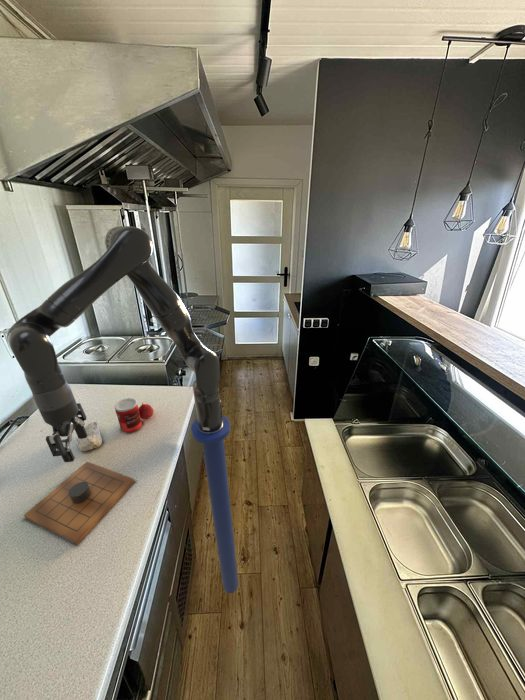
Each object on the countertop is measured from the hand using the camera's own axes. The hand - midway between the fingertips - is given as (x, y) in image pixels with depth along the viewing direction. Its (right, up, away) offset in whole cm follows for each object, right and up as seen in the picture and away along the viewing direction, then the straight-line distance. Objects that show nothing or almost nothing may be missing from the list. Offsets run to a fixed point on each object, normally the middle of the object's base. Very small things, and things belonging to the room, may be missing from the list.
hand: (77, 448), depth 78 cm
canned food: (-1, -4, +35) cm, 35 cm away
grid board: (-2, -17, +7) cm, 19 cm away
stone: (-13, -7, +28) cm, 31 cm away
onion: (+4, -1, +39) cm, 39 cm away
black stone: (-2, -16, +6) cm, 17 cm away
